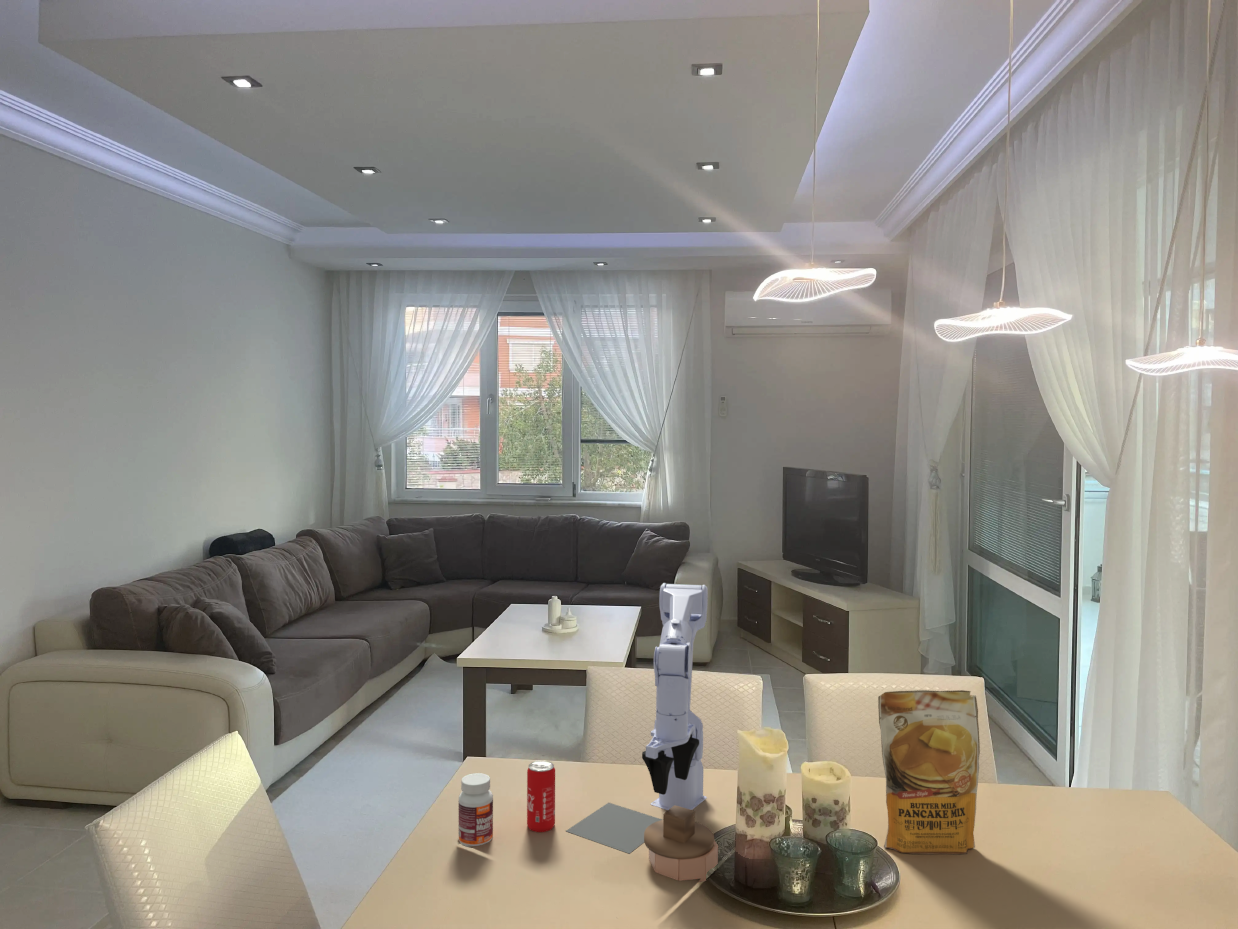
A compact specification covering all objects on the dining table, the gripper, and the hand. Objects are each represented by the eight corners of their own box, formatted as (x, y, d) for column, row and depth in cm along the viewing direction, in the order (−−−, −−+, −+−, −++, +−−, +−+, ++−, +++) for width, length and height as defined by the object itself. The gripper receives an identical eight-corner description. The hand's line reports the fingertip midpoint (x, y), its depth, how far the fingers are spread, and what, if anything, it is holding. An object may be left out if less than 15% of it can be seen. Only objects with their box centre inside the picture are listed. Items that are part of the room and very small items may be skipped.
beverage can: (550, 837, 151) (550, 772, 150) (523, 834, 152) (523, 770, 151) (558, 823, 156) (558, 761, 155) (531, 820, 157) (532, 758, 156)
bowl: (671, 842, 149) (671, 820, 149) (726, 860, 143) (726, 838, 143) (638, 869, 140) (638, 846, 140) (695, 890, 134) (696, 866, 134)
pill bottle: (481, 851, 145) (481, 788, 145) (451, 844, 148) (451, 782, 147) (499, 836, 151) (499, 775, 150) (470, 829, 153) (470, 769, 153)
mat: (608, 805, 163) (608, 802, 163) (669, 825, 156) (669, 822, 156) (565, 834, 152) (565, 831, 152) (629, 857, 144) (629, 853, 144)
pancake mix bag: (868, 836, 152) (872, 686, 151) (971, 836, 152) (976, 687, 151) (880, 855, 146) (884, 698, 144) (988, 855, 146) (993, 699, 144)
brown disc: (664, 818, 150) (665, 791, 150) (725, 835, 144) (725, 807, 144) (631, 846, 140) (631, 817, 140) (694, 866, 134) (695, 836, 133)
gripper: (672, 696, 157) (671, 767, 157) (631, 717, 145) (630, 793, 145) (705, 703, 153) (704, 776, 153) (666, 725, 141) (664, 804, 141)
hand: (670, 785), depth 149 cm, fingers open, 7 cm apart
